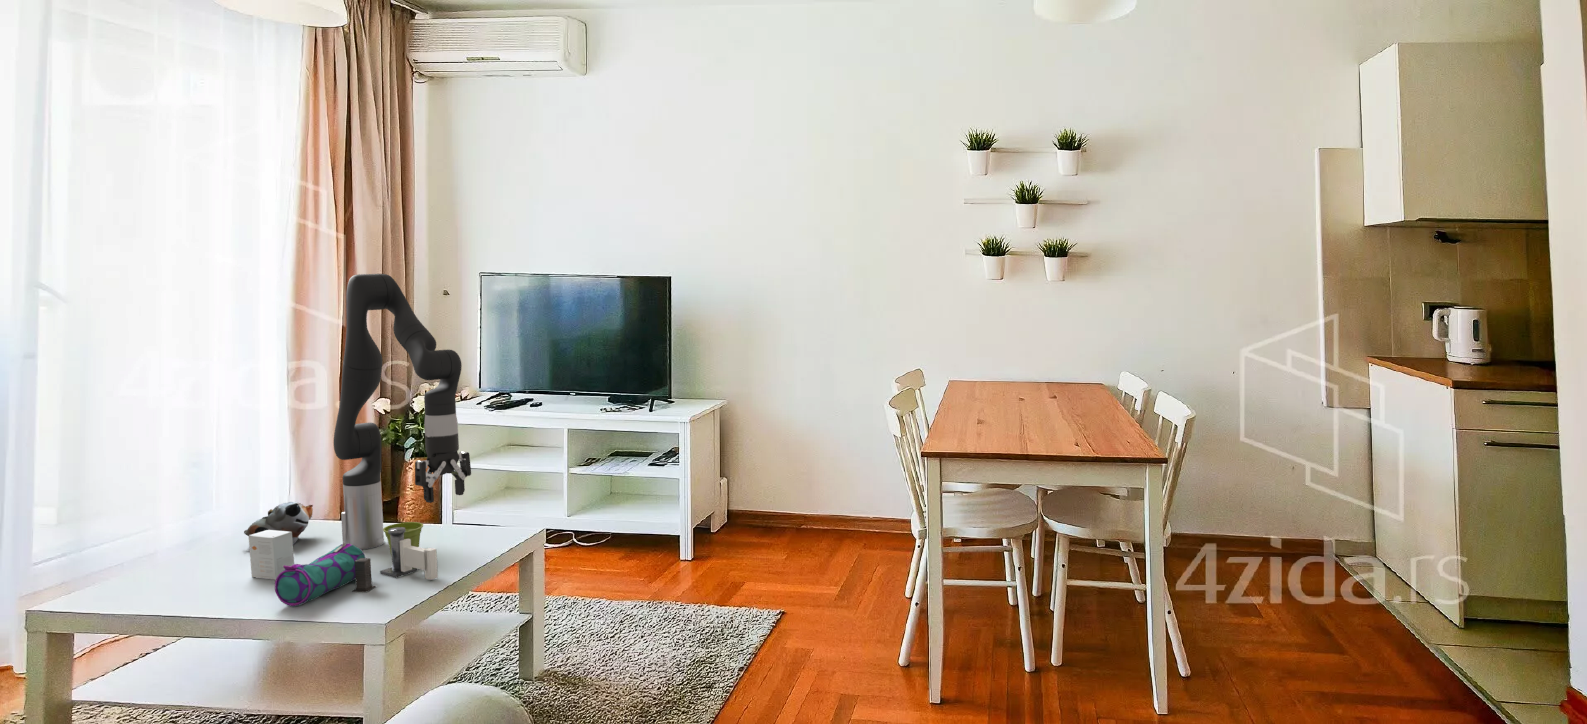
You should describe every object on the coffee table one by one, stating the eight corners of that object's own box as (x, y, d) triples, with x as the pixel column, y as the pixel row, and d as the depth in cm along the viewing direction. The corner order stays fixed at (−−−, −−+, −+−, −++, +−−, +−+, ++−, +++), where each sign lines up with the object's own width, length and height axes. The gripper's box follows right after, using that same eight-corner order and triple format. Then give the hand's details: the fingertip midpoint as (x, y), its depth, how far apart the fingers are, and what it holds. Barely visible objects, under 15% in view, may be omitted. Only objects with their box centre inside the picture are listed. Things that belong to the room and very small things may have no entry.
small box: (295, 573, 221) (293, 531, 220) (275, 580, 216) (273, 537, 215) (270, 570, 224) (268, 528, 223) (250, 577, 218) (248, 534, 217)
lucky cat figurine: (276, 534, 256) (300, 490, 257) (306, 554, 253) (330, 509, 254) (233, 533, 242) (259, 486, 243) (264, 554, 238) (290, 506, 240)
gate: (401, 573, 218) (399, 540, 218) (409, 570, 220) (407, 538, 219) (430, 580, 213) (428, 546, 212) (438, 577, 215) (436, 544, 214)
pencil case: (334, 577, 218) (331, 538, 217) (368, 579, 216) (365, 539, 216) (273, 608, 197) (270, 565, 196) (310, 610, 196) (307, 566, 195)
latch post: (352, 591, 207) (350, 561, 206) (361, 586, 210) (359, 557, 210) (367, 592, 206) (365, 562, 206) (375, 586, 210) (374, 557, 209)
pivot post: (380, 574, 219) (377, 530, 219) (402, 567, 225) (399, 524, 224) (395, 577, 216) (393, 533, 215) (417, 570, 222) (415, 527, 221)
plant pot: (410, 566, 225) (408, 532, 225) (376, 564, 227) (375, 530, 226) (432, 555, 234) (430, 522, 234) (400, 553, 236) (398, 521, 236)
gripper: (455, 427, 226) (459, 491, 227) (405, 435, 214) (409, 503, 215) (476, 429, 222) (479, 494, 223) (426, 438, 210) (429, 506, 211)
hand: (444, 498), depth 219 cm, fingers open, 8 cm apart
